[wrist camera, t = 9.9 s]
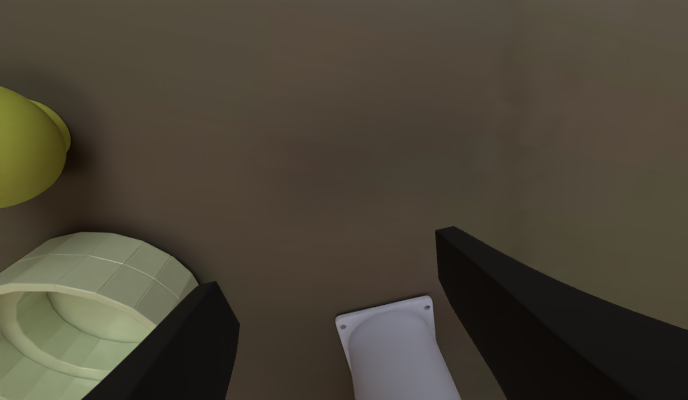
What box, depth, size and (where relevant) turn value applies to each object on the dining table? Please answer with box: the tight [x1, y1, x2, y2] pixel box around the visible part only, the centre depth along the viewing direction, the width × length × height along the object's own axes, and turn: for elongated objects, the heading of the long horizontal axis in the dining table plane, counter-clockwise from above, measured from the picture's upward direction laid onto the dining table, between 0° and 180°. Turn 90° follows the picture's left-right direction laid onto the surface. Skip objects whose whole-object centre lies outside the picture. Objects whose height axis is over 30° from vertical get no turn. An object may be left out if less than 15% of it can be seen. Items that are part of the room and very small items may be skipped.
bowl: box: [0, 232, 199, 400], centre depth 18 cm, size 11×11×5 cm
